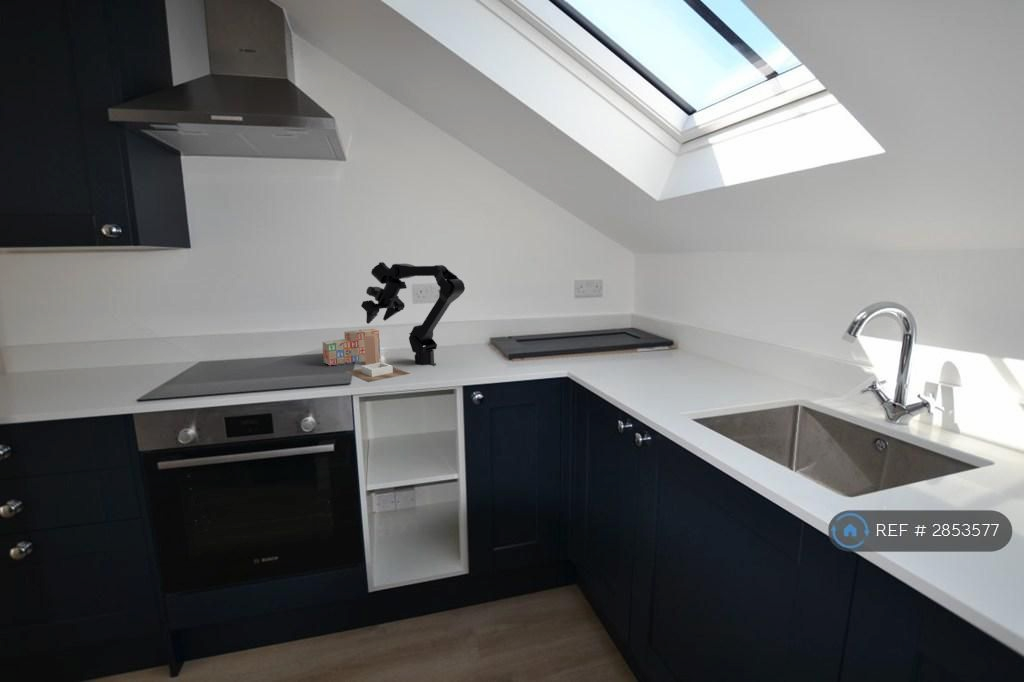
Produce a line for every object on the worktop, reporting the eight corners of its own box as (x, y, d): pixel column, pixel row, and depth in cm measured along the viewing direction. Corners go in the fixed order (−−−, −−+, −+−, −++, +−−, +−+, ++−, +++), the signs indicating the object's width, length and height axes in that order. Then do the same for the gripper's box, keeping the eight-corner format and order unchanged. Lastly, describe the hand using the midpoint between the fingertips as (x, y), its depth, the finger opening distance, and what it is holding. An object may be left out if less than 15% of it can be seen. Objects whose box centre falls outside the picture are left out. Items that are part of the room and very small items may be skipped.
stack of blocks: (329, 367, 185) (326, 336, 182) (323, 364, 189) (321, 334, 187) (380, 358, 198) (379, 329, 196) (374, 356, 203) (372, 328, 200)
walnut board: (385, 367, 183) (385, 364, 182) (410, 376, 169) (410, 373, 169) (345, 375, 172) (344, 371, 172) (368, 385, 158) (368, 382, 158)
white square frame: (382, 368, 176) (381, 362, 175) (392, 372, 170) (392, 365, 169) (361, 372, 170) (361, 365, 170) (372, 376, 165) (371, 369, 164)
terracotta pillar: (379, 365, 186) (377, 334, 183) (376, 368, 182) (374, 336, 180) (369, 365, 186) (367, 334, 184) (366, 368, 182) (363, 336, 180)
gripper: (394, 277, 196) (380, 306, 203) (359, 280, 180) (345, 311, 187) (411, 293, 193) (396, 323, 200) (378, 298, 177) (363, 329, 184)
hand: (375, 321), depth 193 cm, fingers open, 9 cm apart
